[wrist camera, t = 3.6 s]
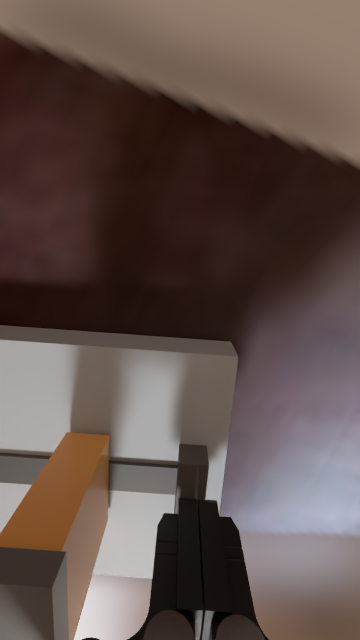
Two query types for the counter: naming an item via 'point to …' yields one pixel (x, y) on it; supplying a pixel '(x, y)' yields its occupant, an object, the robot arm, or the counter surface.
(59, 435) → the console board
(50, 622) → the fader tab
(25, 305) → the counter surface
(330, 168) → the counter surface
